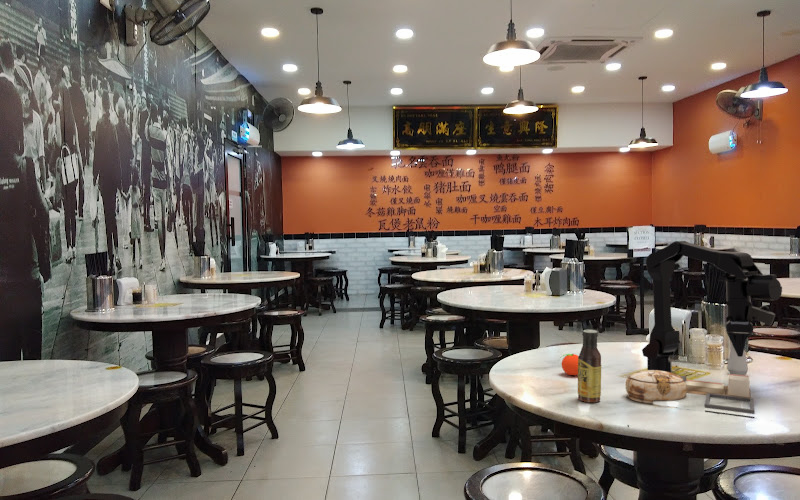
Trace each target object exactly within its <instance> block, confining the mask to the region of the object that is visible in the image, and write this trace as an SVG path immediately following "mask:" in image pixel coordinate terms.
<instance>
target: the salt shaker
mask: <svg viewBox="0 0 800 500" xmlns="http://www.w3.org/2000/svg"><path fill="white" fill-rule="evenodd" d="M729 341H730V340H729ZM730 343H731V341H730ZM726 369H727V371H728V374H737V375H747V373H748V371H749V366H748V360H747V355H746V351H745V349H744V351H743V356H742V357H739V356H737V353H736V351H735V349H734V347H733V345H732V344H731V347H730V351H729V357H728V361H727V365H726Z"/></svg>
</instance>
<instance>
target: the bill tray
mask: <svg viewBox="0 0 800 500" xmlns="http://www.w3.org/2000/svg"><path fill="white" fill-rule="evenodd" d="M711 398H715V399H723V400H732V401H739V402H748V403H749V407H750V408H746V407H739V406H738V407H736V406H728V405H720V404H713V403H710V399H711ZM704 408H707V409H713V410H720V411H721V410H722V411H730V412H735V413H736V412H737V413H746V414H752V415H753V414H755V402H754V398H753V397H751V398H746V397H737V396H729V395H720V394H712V393H707V394H706V395H705V401H704ZM713 410H706V409H705V410H704V412H705V413H712V414H719V415H725V416H726V415H727V416H734V417H741V418H742V417H743V418H748V419H749V418H750V419H755V416H750V415H741V414H737V413H736V414H735V413H734V414H733V413H728V412H720V411H713Z"/></svg>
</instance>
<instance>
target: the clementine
mask: <svg viewBox="0 0 800 500" xmlns="http://www.w3.org/2000/svg"><path fill="white" fill-rule="evenodd" d="M562 357H563V359H562V361H561V368H562V370H563V372H564V373H565V374H567V375H569V376H571V375H575V376H578V357H579V355H578V354H576V353H575V354H574V353H567V354H563V355H561V356H560V358H559V360H558V361H560V359H561V358H562Z"/></svg>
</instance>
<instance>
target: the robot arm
mask: <svg viewBox="0 0 800 500" xmlns="http://www.w3.org/2000/svg"><path fill="white" fill-rule="evenodd" d="M683 257H688V258H691V259H693V260H694V259H695V260H696V261H697V260H698V261H701V262H704V263H708V264H711V265H713V266H715V267H716V268H717V269H718V270H720V271H722V272H724V273H723V274H722V275H721V276H720V277H719V278H718V281H719V282H725V284H726V288H725V289H726V292H725V293H726V315H725V316H726V321H725V322H726V324H725V329H726V334H727V336H728V338H729V341H731V342H730V343H731V346H732V345H733V347H734V349H735V351H736V353H737V356H739V357H742V356H743V351H744V350H745V346H746V341H747V339H748V338H749V337H751V336H752V335H753V333H754V324H753V323H752V322H753V320H754V321H757V322H760V323H762V324H765V325H767V326H769V327H770V326H772V324H773V322H774V320H775V317H776V313H774V312H773V311H770V307H769V306H766V305H763V304H762V305H761V306H760V307H757V306H754V305H753V303H752V301H751V299H753V300H765V301H778V300H779V299H780V298H781V296H782V294H783V286H782V285H781V282H780V280H779V279H778V278H777V274H763V273H762V271H761V270H760V269H759V268H758V266H757V265H756V264H755V262H754V260H753V257H752V255H751V254H750V253H748V252H745V251H744V252H741V251H723V250H719V249H718V250H717V249H714V248H710V247H707V246H704V245H703V246H702V245H698V244H695V243H690V242H688V241H686V240H676V241H673V242H671V243H670V244H669V245H667V246H665V247H663V248H661V249H659V250H657V251H655V252H651V253H649V254H648V256H647V257H645V266H646V271H647V273H648V275H649V277H650V278H651V280H652V294H653V295H652V296H653V319H654V325H653V327H652V330H651V332H650V334H649V343H647V345H645V346H644V347H643V348H642V349H641V351H642V356H643V357H645V358H646V359H647V360H646V361H647V367H646V368H647V370H660V371H666V372H670V373H673V372H672V370H673V369H672V365H673V362H672V360H670V357H673V356H675V352H676V350H677V349H679V346H680V345H679V344H681V341H680V331H679V330H675V328H674V326H673V325H672V305H671V304H672V303H671V300H672V299H671V284H670V283H671V278H672V276H673V274H674V272H675V267H676V263H677V262H678V263H679V261H680V260H682V258H683Z"/></svg>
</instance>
